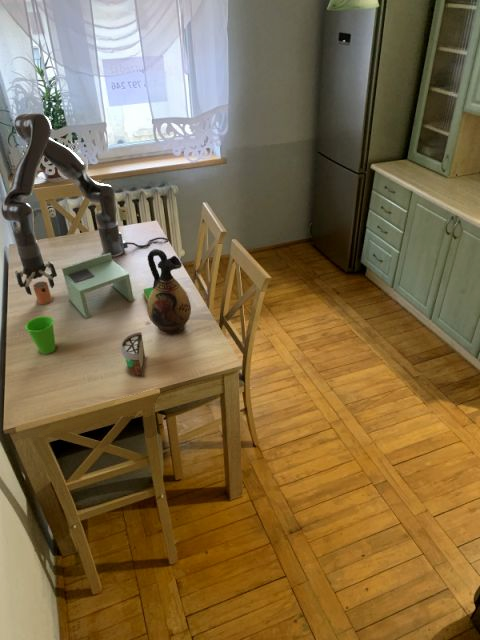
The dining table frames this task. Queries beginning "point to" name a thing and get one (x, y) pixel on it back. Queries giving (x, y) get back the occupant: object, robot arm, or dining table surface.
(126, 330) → the dining table surface
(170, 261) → the ceramic jug
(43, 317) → the cup
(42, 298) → the copper pot
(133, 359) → the food container
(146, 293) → the dish sponge
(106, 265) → the shelf
